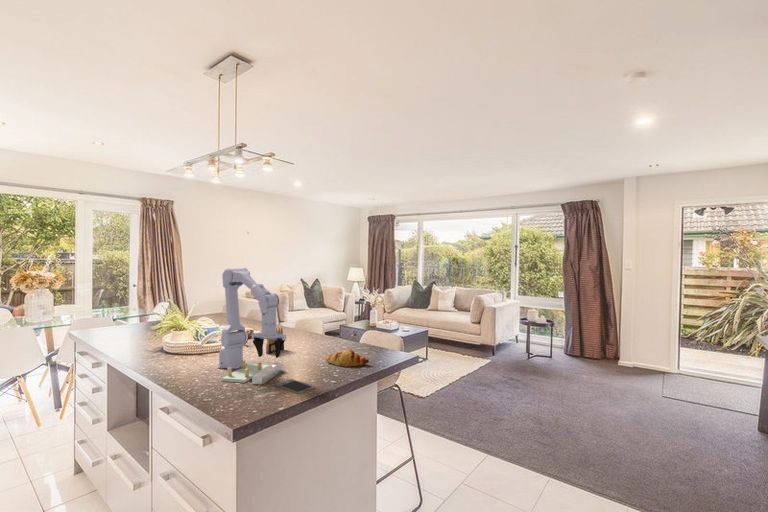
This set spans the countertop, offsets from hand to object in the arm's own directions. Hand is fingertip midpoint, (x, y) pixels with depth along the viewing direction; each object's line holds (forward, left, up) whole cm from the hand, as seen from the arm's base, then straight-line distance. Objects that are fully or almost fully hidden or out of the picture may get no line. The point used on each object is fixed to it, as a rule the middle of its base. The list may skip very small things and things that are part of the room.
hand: (269, 356), depth 149 cm
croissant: (+26, +23, -8) cm, 36 cm away
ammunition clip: (-17, +37, -8) cm, 42 cm away
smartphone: (+15, -9, -9) cm, 20 cm away
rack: (-11, +1, -8) cm, 13 cm away
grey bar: (0, 0, -8) cm, 8 cm away
